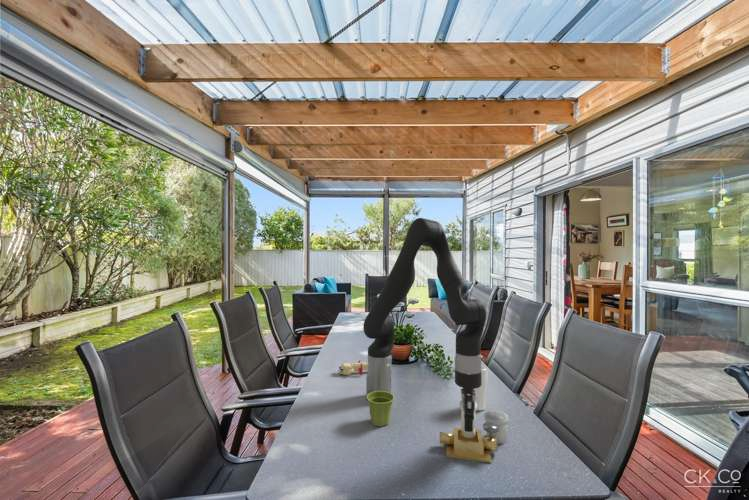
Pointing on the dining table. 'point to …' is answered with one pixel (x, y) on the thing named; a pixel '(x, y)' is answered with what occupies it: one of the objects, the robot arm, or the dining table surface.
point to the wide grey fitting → (501, 421)
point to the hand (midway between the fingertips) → (468, 426)
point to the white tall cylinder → (481, 390)
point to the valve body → (471, 444)
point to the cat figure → (353, 368)
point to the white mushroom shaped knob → (463, 432)
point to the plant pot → (380, 407)
